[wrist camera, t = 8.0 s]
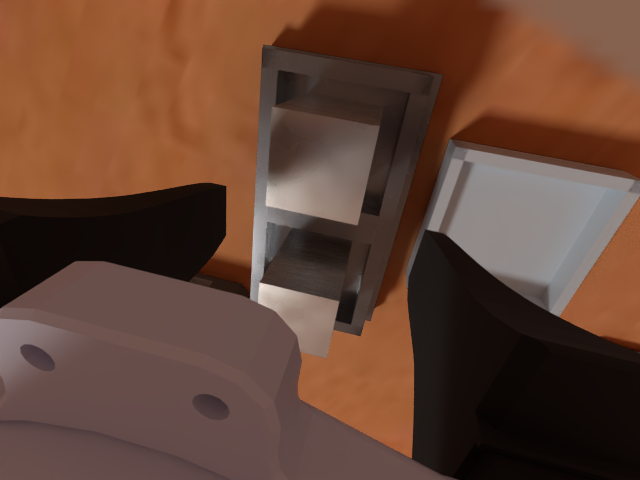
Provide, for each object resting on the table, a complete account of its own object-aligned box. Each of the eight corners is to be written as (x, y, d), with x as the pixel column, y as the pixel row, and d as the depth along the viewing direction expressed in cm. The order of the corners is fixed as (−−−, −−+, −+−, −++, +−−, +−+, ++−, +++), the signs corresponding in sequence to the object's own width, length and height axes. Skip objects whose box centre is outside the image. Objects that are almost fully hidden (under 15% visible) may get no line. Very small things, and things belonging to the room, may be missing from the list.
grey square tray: (623, 170, 17) (648, 182, 16) (541, 301, 22) (554, 322, 20) (449, 138, 18) (456, 146, 16) (405, 271, 23) (406, 288, 21)
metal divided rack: (439, 73, 17) (448, 75, 14) (371, 310, 25) (368, 339, 22) (270, 45, 18) (250, 42, 15) (256, 283, 26) (241, 308, 23)
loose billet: (383, 106, 17) (379, 126, 12) (366, 180, 19) (357, 225, 14) (307, 93, 17) (272, 106, 12) (299, 167, 19) (265, 205, 14)
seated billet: (352, 242, 21) (339, 301, 16) (341, 291, 23) (326, 358, 18) (291, 228, 21) (259, 282, 16) (285, 278, 23) (255, 340, 18)
